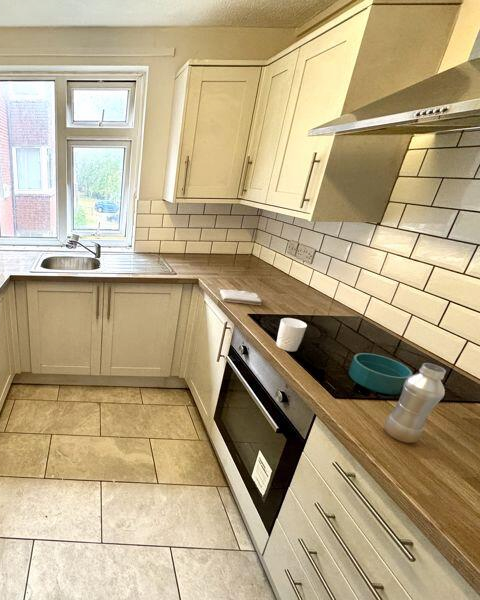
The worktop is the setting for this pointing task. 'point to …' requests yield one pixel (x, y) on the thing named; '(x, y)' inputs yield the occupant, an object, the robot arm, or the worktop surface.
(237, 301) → the washcloth
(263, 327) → the worktop surface
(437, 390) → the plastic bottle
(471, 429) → the worktop surface
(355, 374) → the bowl
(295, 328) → the white cup
